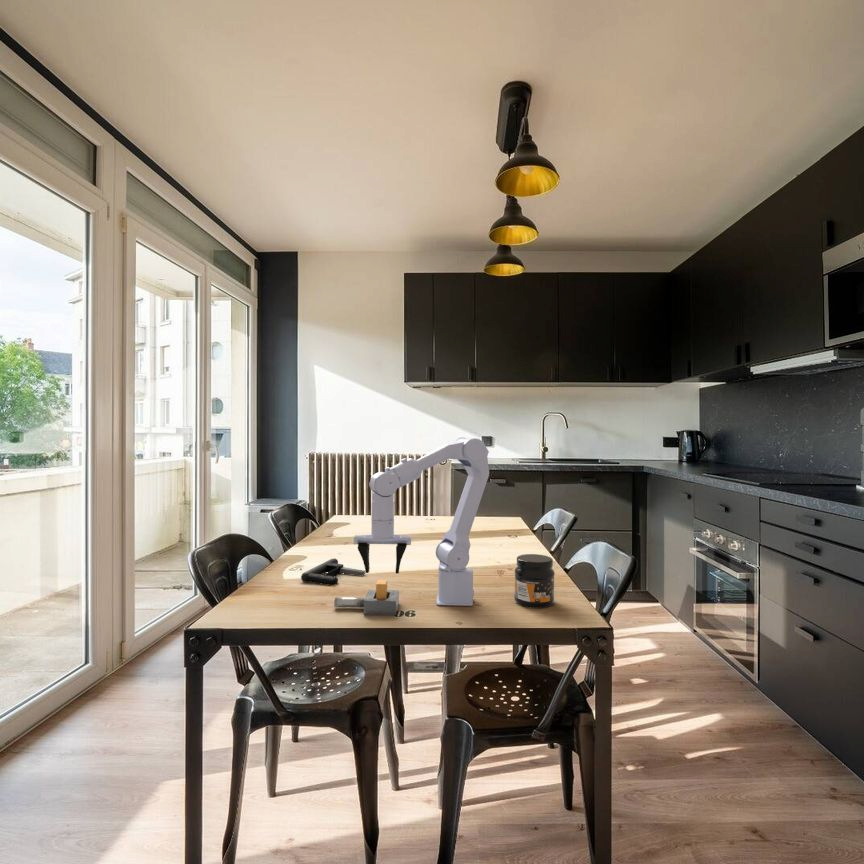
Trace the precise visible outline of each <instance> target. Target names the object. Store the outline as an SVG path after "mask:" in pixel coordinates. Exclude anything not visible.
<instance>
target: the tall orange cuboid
mask: <svg viewBox="0 0 864 864" xmlns="http://www.w3.org/2000/svg"><path fill="white" fill-rule="evenodd" d="M375 590H376V599H387V590H388V579H377V581H376V583H375Z"/></svg>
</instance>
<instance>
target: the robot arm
mask: <svg viewBox="0 0 864 864" xmlns="http://www.w3.org/2000/svg"><path fill="white" fill-rule="evenodd" d="M489 453H490V451H489V449H488V448H487V447H486V445H485V442H484V441H482V440H481V439H479V438H469V437H468V438H466V437H459V438H457V439H454V440H451V441H448V442H446V443H445V444H443V445H441V446H439V447H437V448H435V449H434V450H432V451H431V452H428V453H426V454H425V455H423V456H421V457H419V458H418V459H414V458H411V457H410V458H407V457H404V458H402V459H400V462H399V463H397V464H395V465H393V466H391V467H389V466H387V467H385V468H384V471H379V472H376V473H374V474H373V475H372V477H370V481H369V482H368V486H369V489H370V490H371V532H370V533H371V534H362V535H361V534H359V535H357V534H355V535H354V536H353V545H357V550H358V552H359V554H360V556H361V559H362V562H363V565H364V569H365V570H364V571H365V574H369V573H370V545H396V547H395V559H396V563H395V574H399V573H400V567H401V562H402V558H403V556H404V553H405V552H406V550H407V547H408V546H411V544H412V535H400V534H395V530H394V529H395V501H394V499H395V495H394V494H395V493H396V491H397V489H400V488H402V487H404V486H406V485H408V484H411V483H412V482H415V481H416V480H418V479H420V477H421V476H422V473H423V471H426V470H427V469H430V468H432V467H434V466H436V465H438V464H441V463H443V462H445V461H447V460H457V461H458V462H459V463H460V464H461V465H463V467H464V470H465V472H466V473H467V478H466V481H465V484H464V487H463V489H462V493H461V495H460V499H459V502H458V505H457V507H456V510H455V512H454V516H453V519H452V522H451V524H450V528H449V530H447V532H445V534H444V535H443V537H442V540H441V541H440V542H439V543H438V544H437V546H436V548H435V555H436V558H437V560H438V561H439V564H438V580H437V582H438V586H437V587H438V593H437V595H436V605H437V606H461V607H462V606H464V607H465V606H466V607H467V606H469V607H473V606H474V596H475V590H474V570H473V568H469V567H467V566H468V565H469V562H470V548H471V542H470V533H471V530H472V527H473V524H474V521H475V518H476V515H477V512H478V510H479V506H480V503H481V500H482V498H483V493H484V491H485V489H486V485H487V482H488V479H489V476H490V468H489V460H488V459H489V458H488V456H489Z"/></svg>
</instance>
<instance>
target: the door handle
mask: <svg viewBox="0 0 864 864" xmlns="http://www.w3.org/2000/svg"><path fill="white" fill-rule="evenodd" d="M325 572H328V573H325ZM323 573H324V574H323ZM339 573H344V574H343V575H346V574H354V575H353V576H356V575H364V574H365V575H366V572H365V570H363V569H356V568H352V567H351V568H349V567H344V564H342V563H339V561H338V559H337V558H330V559H329V560H327V561H324V562H323V563H320V564H318V565H316V566H314V567H313V568H311V569H309V570H306V571H305V572H302V573H301V576H300V577H301V578H300V579H301V581H302V582H303V583H309V582H310V583H314V582H315V584H320V583H322V584H321V585H326V584H330V585H329V586H335V585H334V584H336V585H337V584H338V582H339V579H338V577H337V576H338V575H340V574H339ZM337 574H338V575H337ZM336 575H337V576H336ZM365 575H364V576H365ZM334 576H335V577H334Z"/></svg>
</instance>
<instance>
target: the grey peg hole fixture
mask: <svg viewBox="0 0 864 864" xmlns="http://www.w3.org/2000/svg"><path fill="white" fill-rule="evenodd" d="M399 603H400V590H399V589H387V599H376V589H368V591H367V593H366V595H365V596H364V597H334V603H333V604H334V605H333V606H334V608H353V609H354V608H357V609H359V608H360V609H361V608H362V609H363V615H364V616H365V615H366V616H397V613H396V612H398V609H397V608H399V605H400V604H399ZM398 604H399V605H398Z"/></svg>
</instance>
